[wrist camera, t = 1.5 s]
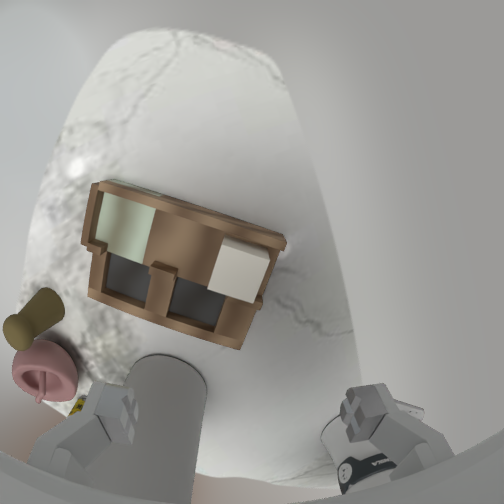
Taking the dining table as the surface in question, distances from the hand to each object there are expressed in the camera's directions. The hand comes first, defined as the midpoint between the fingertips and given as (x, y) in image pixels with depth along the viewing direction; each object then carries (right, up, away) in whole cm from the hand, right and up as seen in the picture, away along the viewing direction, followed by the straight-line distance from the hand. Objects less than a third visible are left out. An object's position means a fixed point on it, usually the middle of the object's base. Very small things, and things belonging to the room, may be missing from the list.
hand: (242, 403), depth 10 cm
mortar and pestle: (-33, -12, +31) cm, 47 cm away
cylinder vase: (-13, -15, +32) cm, 38 cm away
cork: (-32, -3, +28) cm, 42 cm away
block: (-1, +4, +24) cm, 25 cm away
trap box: (-9, +4, +26) cm, 28 cm away
